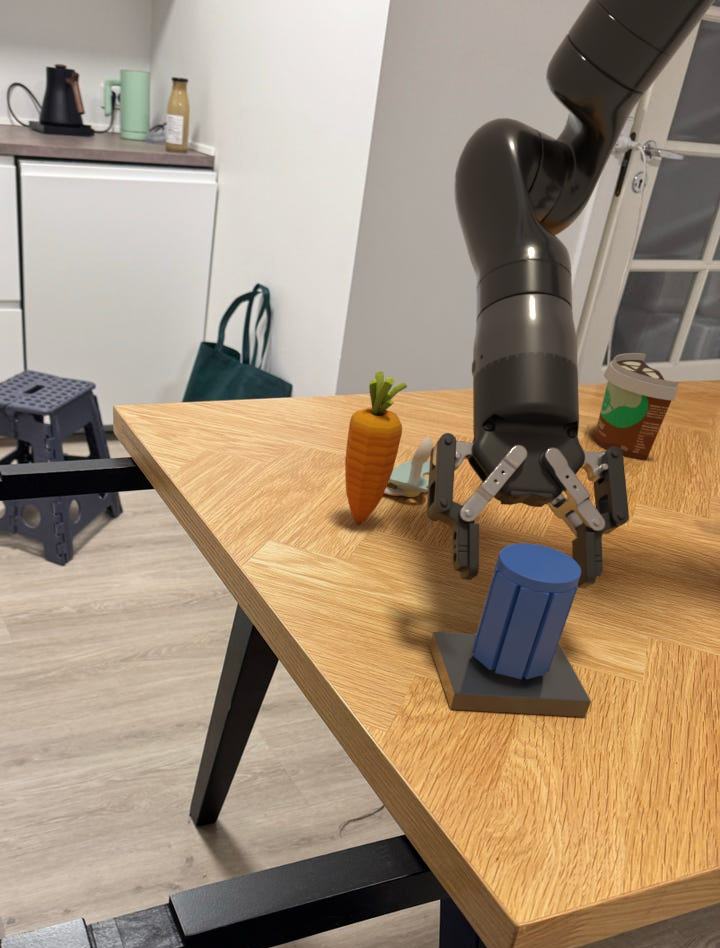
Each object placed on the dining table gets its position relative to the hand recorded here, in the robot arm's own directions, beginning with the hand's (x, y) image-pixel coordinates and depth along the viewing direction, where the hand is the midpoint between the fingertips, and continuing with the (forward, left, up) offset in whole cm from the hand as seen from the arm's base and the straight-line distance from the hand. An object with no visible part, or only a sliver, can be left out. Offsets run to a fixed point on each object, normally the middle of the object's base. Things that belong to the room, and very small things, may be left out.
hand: (527, 581), depth 64 cm
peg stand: (0, +1, -8) cm, 8 cm away
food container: (-28, -52, -8) cm, 59 cm away
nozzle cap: (0, +1, -6) cm, 6 cm away
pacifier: (+2, -33, -8) cm, 34 cm away
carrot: (+8, -24, -8) cm, 26 cm away
